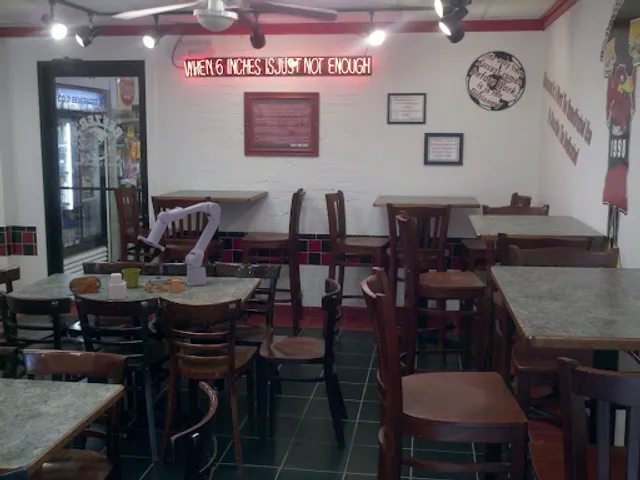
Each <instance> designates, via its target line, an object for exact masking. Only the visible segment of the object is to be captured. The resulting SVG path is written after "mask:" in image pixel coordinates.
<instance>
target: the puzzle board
mask: <svg viewBox="0 0 640 480" xmlns="http://www.w3.org/2000/svg"><path fill="white" fill-rule="evenodd" d="M167 279H168V282H166V283H153V284H150V279H148V281H146V282H145V283H144V285H145V289H147V290H146V291H147V293H148V292H149V294H151V293H150V292H154V293H162V292H163V293H164V291H166V292H172V290H171V280H174V279H180V280H181V291H186V281H184V280H182V279H183V278H182V277H176V278H175V277H173V278H167Z"/></svg>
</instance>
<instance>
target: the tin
mask: <svg viewBox="0 0 640 480" xmlns="http://www.w3.org/2000/svg"><path fill="white" fill-rule="evenodd" d="M101 287H102V282H101V279H100V278H99V277H97V276H94V275H88V276H81V277H80V276H78V277H74V278H73V279H71V280H70V282H69V284H68V289H69V291H70V292H71V293H72V294H73V295H76V296H80V295H87V294H94V293H97V292H99V290H100V289H101Z"/></svg>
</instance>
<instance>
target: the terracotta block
mask: <svg viewBox="0 0 640 480" xmlns="http://www.w3.org/2000/svg"><path fill="white" fill-rule="evenodd" d="M171 290H172V291H171V293H172V294H178V293H180V294H181V293H182V290H181V280H180V279H174V280H171Z"/></svg>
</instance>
